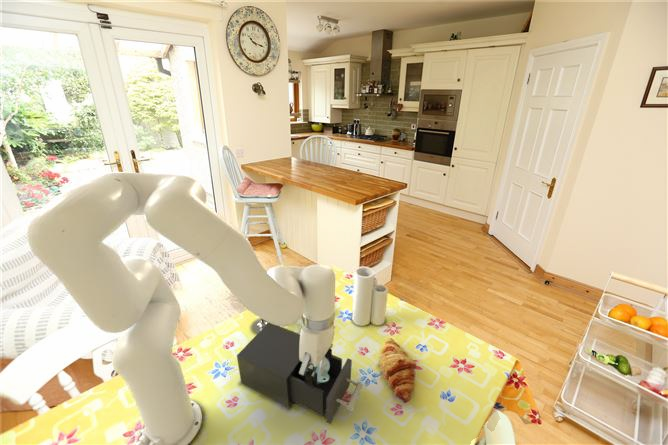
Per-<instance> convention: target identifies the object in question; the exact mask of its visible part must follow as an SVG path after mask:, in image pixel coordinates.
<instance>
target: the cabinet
mask: <svg viewBox="0 0 668 445" xmlns="http://www.w3.org/2000/svg"><path fill="white" fill-rule="evenodd" d="M300 334H301V333H298V332H295V331H293V330H290V329H287V328H285V327H284V326H277V325H274V324H271V323H269V322H268V323H267V325H266V326H265V327H264V328H263V329H262V330H261V331H260V332H259V333H258V334H257V333H256V335H254V337H253V338H252V339H251V340H250V341H249V342H248V343H247V344H246V345H245V346H244V347H243V348H242V349H241V350H240V351H239V352H238V353H237V355H236V359H237V366H238V371H239V379H240V383H241V384H242V385H244V386H246V387H247V388H250V389H251V390H253V391H255V392H258V393H259V394H261V395H263V396H264V397H267V398H269V399H270V400H272V401H275V402H276V403H278V404H280V405H282V406H284V407H286V408H288V409H289V408H290V407H291V405H292V403H294V402H293V401H291V400H290V395H289V381H288V379H289V377H290V376H291V374H292V373H293V372H294V370H295V369H296V367H297V366H298V364H299V363H300V362H301V361H300V359H299V343H300Z"/></svg>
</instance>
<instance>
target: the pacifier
mask: <svg viewBox="0 0 668 445" xmlns="http://www.w3.org/2000/svg"><path fill="white" fill-rule="evenodd" d="M326 364H327V365H326ZM308 368H310V369H313V365H310V366H309V367H308ZM329 368H330V363H329V361H328V359H326V357H325V356H324V357H323V359H322V361H321V362H320V364H319V365H318V366H317V369H316V373H317V384H319V383H324V382H327V381H328V380H329V375H328V374H327V372H328V371H329ZM324 379H326V380H324ZM311 385H312V384H311Z"/></svg>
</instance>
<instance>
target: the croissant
mask: <svg viewBox="0 0 668 445" xmlns="http://www.w3.org/2000/svg"><path fill="white" fill-rule="evenodd" d="M378 366H379V369H380V370H381V372H382V376H383V378H384V380H385V381H386V383H387V384H388V386H389V387H390V388H391V390H392V392H393V393H394V395H395V396H396V397H397V398H398V399H399V400H400V401H401V402H403V403H404V404H407V403H409V402H410V400H411V394H412V393H413V392H414V387H415V386H414V384H415V383H414V381H415V379H416V378H415V377H416V373H415V369H416V368H417V364H416V362H415V360H414V359H413V358H411V357H410V356H409V355H408V352H406V351H405V350H404V349H402V348H401V346H400V344H398V343H397V342H396V341H395V340H394V339H393V338H392V337H389V338H388V339H387V340H386V341H385V342H384V344H383V347H382V349H381V351H380V360H379V363H378Z"/></svg>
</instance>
